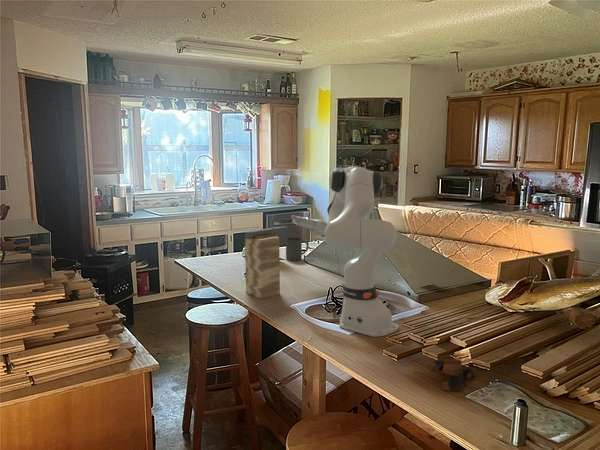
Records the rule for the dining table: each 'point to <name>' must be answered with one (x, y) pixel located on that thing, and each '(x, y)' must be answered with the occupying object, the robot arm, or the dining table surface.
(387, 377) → the dining table surface
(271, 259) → the maple stand
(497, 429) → the dining table surface
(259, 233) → the steel block
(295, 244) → the mug
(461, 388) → the pottery mug
